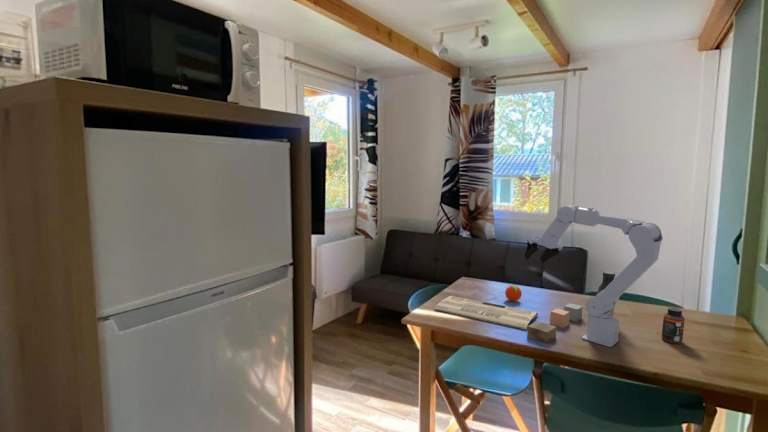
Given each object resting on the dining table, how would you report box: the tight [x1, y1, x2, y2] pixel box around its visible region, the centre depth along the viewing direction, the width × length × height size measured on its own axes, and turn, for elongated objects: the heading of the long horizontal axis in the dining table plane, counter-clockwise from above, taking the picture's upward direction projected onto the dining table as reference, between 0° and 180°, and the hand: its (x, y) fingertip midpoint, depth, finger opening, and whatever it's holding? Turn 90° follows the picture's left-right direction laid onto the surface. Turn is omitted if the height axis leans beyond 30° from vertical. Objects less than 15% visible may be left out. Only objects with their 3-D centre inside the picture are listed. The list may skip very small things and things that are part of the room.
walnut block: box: [526, 320, 557, 344], centre depth 145 cm, size 7×7×4 cm
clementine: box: [504, 285, 523, 302], centre depth 183 cm, size 8×7×7 cm
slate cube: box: [563, 302, 583, 322], centre depth 164 cm, size 5×5×5 cm
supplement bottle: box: [661, 306, 686, 344], centre depth 143 cm, size 6×6×11 cm
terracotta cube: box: [549, 308, 570, 329], centre depth 158 cm, size 5×5×5 cm
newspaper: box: [434, 295, 539, 331], centre depth 168 cm, size 37×19×3 cm, turn 57°
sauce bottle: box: [596, 270, 616, 318], centre depth 158 cm, size 7×6×20 cm
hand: (533, 259), depth 161 cm, fingers open, 7 cm apart
